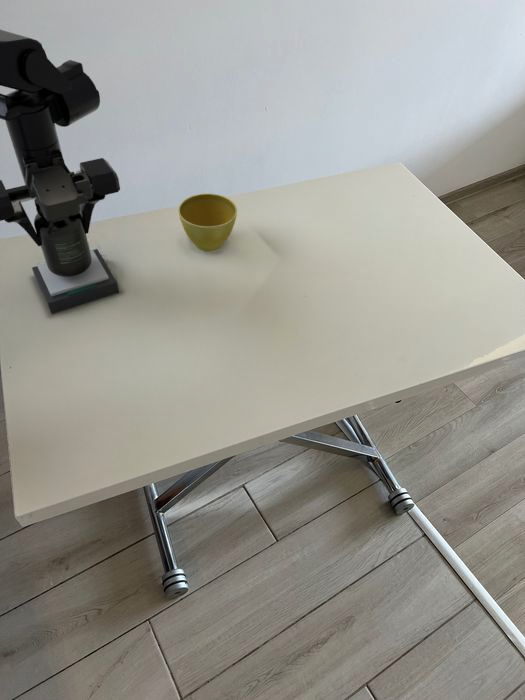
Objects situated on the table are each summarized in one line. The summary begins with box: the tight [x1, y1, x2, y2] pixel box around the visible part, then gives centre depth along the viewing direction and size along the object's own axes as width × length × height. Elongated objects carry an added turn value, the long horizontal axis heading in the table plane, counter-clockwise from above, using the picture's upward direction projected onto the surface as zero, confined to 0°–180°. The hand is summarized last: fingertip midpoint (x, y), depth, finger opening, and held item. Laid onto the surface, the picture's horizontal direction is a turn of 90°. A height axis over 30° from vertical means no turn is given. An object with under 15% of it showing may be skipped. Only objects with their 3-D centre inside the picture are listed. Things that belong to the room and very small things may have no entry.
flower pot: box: [178, 193, 238, 252], centre depth 94 cm, size 10×10×7 cm
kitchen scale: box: [31, 248, 120, 315], centre depth 87 cm, size 11×10×3 cm
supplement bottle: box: [33, 199, 92, 277], centre depth 80 cm, size 7×7×12 cm
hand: (62, 238), depth 81 cm, fingers closed on supplement bottle, 7 cm apart
